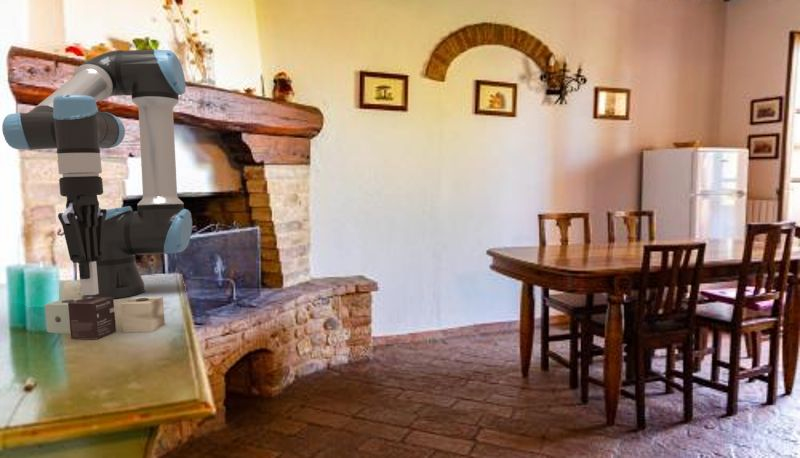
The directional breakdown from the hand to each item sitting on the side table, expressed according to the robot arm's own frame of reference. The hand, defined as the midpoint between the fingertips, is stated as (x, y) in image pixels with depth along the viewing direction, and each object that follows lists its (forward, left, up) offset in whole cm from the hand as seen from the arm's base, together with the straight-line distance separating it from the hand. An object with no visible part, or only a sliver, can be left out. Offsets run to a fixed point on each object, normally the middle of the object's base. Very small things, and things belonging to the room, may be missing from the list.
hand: (90, 294), depth 120 cm
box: (0, 0, -9) cm, 9 cm away
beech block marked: (-5, +8, -9) cm, 13 cm away
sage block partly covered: (-5, -8, -9) cm, 13 cm away
